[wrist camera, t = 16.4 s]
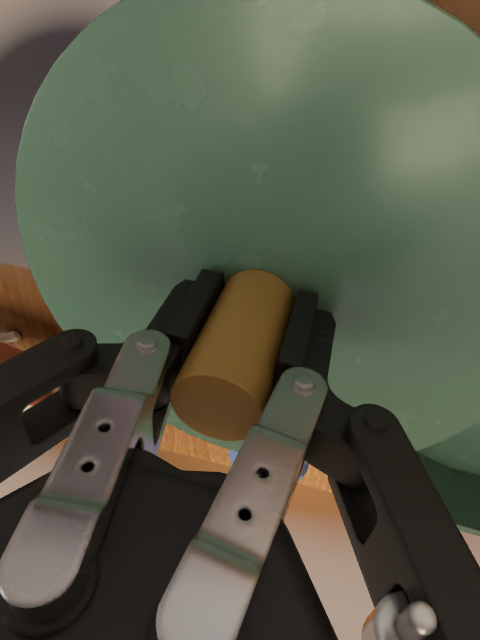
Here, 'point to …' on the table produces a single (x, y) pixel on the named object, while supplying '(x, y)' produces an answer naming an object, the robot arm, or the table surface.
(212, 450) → the table surface
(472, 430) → the tin
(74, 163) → the tin lid
